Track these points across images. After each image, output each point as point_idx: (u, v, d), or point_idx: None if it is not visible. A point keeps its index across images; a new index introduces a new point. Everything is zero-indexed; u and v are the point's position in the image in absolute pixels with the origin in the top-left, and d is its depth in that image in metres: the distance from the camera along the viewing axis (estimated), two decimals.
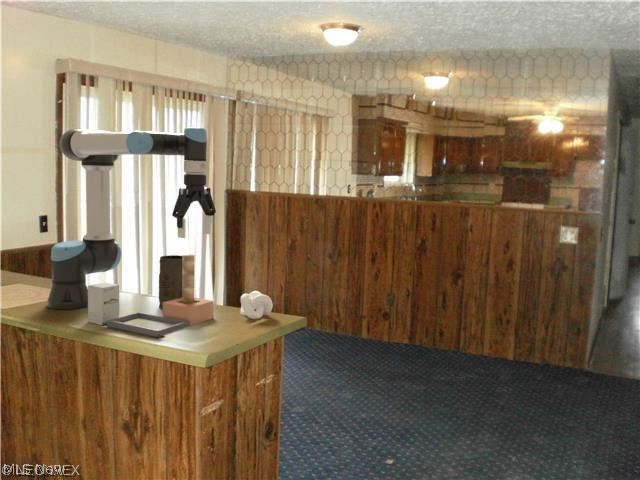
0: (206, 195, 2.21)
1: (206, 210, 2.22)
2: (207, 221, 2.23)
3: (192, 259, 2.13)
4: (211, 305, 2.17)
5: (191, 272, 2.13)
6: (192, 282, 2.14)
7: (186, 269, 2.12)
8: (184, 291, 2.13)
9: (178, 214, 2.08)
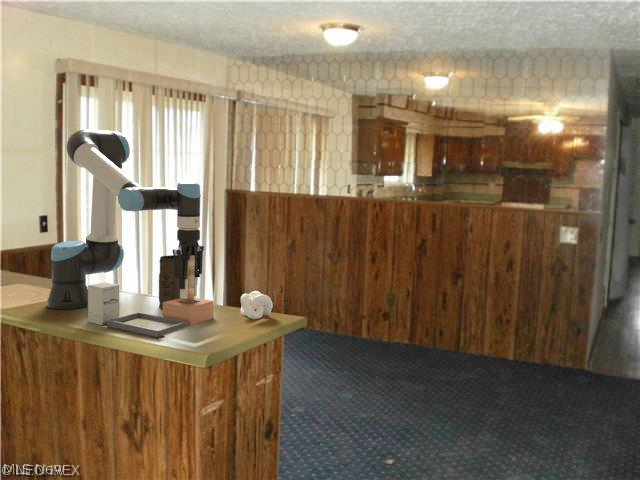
0: (198, 253, 2.18)
1: None
2: None
3: (192, 259, 2.13)
4: (211, 305, 2.17)
5: (191, 272, 2.13)
6: (192, 282, 2.14)
7: None
8: None
9: (180, 277, 2.09)
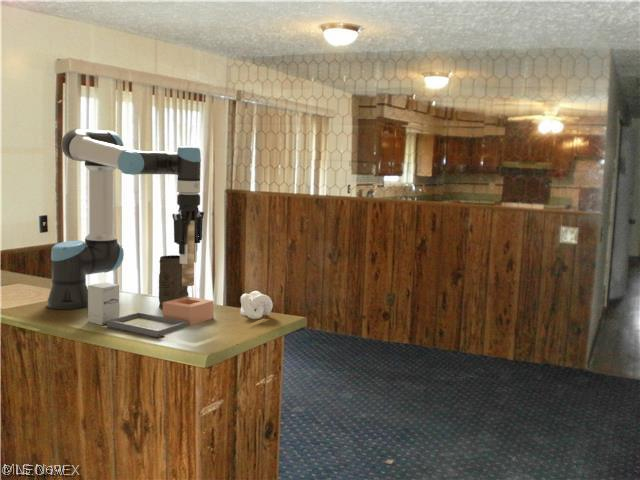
0: (198, 218, 2.16)
1: None
2: None
3: (192, 224, 2.11)
4: (211, 305, 2.17)
5: (191, 237, 2.11)
6: (192, 247, 2.12)
7: None
8: None
9: (180, 241, 2.08)
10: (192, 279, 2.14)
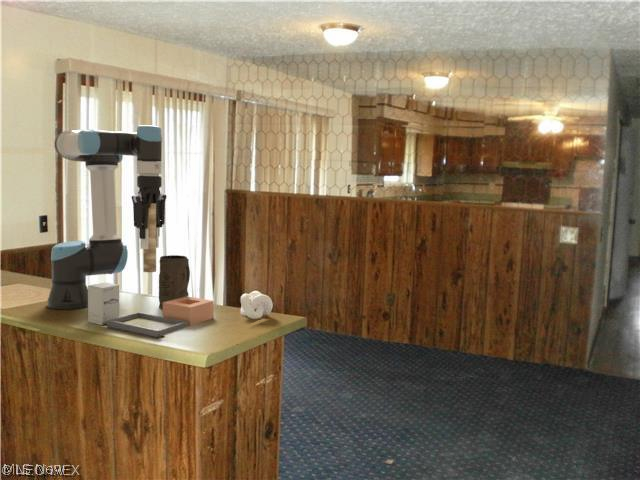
0: (160, 202, 2.06)
1: None
2: None
3: (153, 207, 2.01)
4: (211, 305, 2.17)
5: (152, 220, 2.01)
6: (153, 232, 2.02)
7: None
8: None
9: (140, 225, 1.98)
10: (154, 265, 2.04)
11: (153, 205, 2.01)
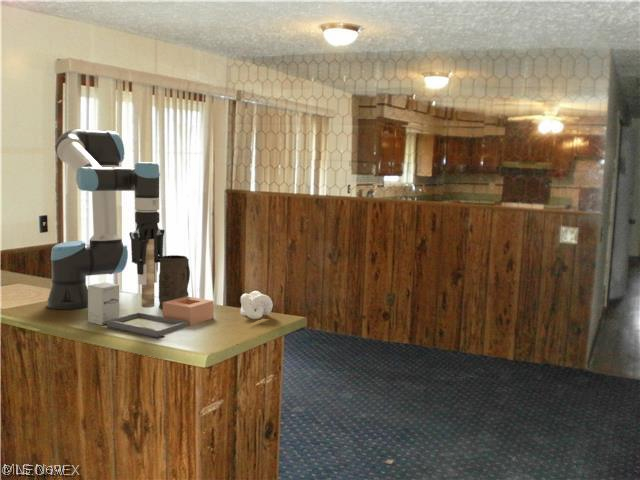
0: (158, 237, 2.07)
1: None
2: None
3: (151, 243, 2.02)
4: (211, 305, 2.17)
5: (150, 256, 2.02)
6: (151, 267, 2.03)
7: None
8: None
9: (138, 261, 1.99)
10: (152, 300, 2.04)
11: (151, 241, 2.02)
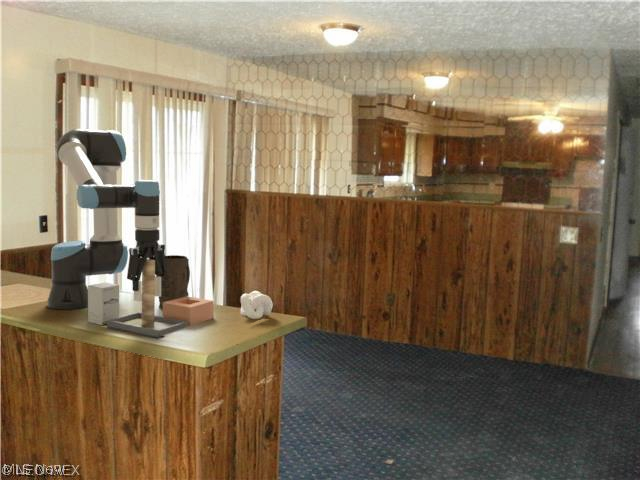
0: (159, 252, 2.08)
1: (156, 269, 2.08)
2: (157, 282, 2.08)
3: (152, 264, 2.03)
4: (211, 305, 2.17)
5: (151, 277, 2.03)
6: (152, 288, 2.04)
7: (146, 274, 2.03)
8: (143, 298, 2.04)
9: (133, 277, 1.97)
10: (152, 321, 2.05)
11: (152, 262, 2.03)
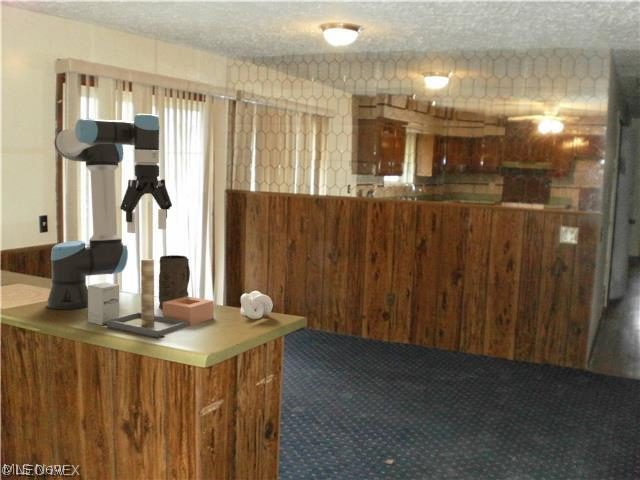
0: (160, 187, 2.06)
1: (161, 203, 2.07)
2: (162, 215, 2.08)
3: (151, 264, 2.03)
4: (211, 305, 2.17)
5: (150, 277, 2.03)
6: (151, 288, 2.04)
7: (145, 274, 2.02)
8: (143, 298, 2.04)
9: (126, 207, 1.93)
10: (152, 321, 2.05)
11: (151, 262, 2.03)
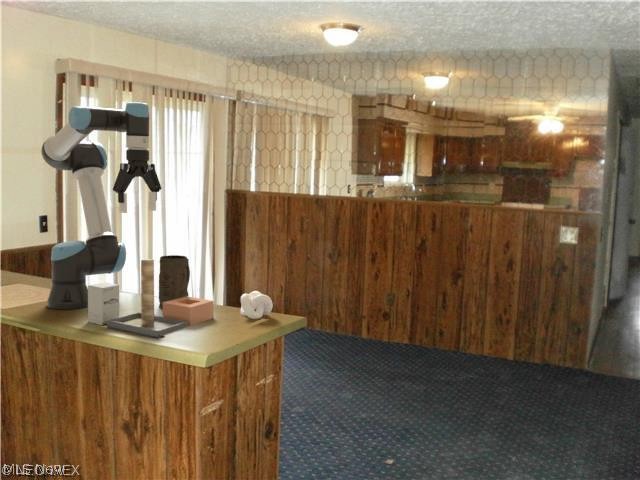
0: (151, 171, 2.21)
1: (151, 186, 2.21)
2: (152, 197, 2.22)
3: (151, 264, 2.03)
4: (211, 305, 2.17)
5: (150, 277, 2.03)
6: (151, 288, 2.04)
7: (145, 274, 2.02)
8: (143, 298, 2.04)
9: (118, 189, 2.07)
10: (152, 321, 2.05)
11: (151, 262, 2.03)
